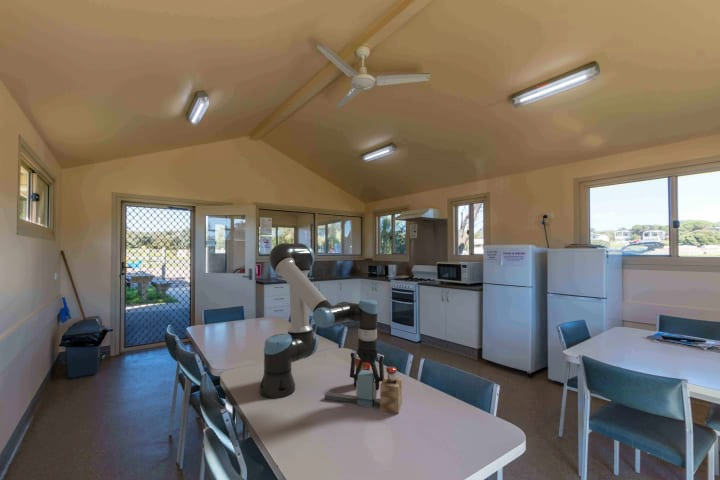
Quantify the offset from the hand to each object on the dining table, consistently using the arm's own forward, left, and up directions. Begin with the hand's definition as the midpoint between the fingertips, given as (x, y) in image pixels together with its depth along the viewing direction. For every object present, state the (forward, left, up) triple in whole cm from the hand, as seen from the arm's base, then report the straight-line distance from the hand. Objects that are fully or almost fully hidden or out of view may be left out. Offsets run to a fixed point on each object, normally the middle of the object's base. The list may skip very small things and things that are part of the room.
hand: (366, 396), depth 136 cm
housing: (+10, 0, -3) cm, 11 cm away
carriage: (0, 0, -3) cm, 3 cm away
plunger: (+10, 0, +6) cm, 12 cm away
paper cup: (-6, +18, -3) cm, 19 cm away
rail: (-5, 0, -3) cm, 6 cm away
